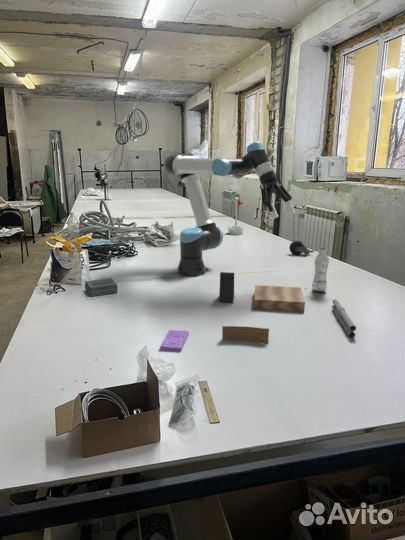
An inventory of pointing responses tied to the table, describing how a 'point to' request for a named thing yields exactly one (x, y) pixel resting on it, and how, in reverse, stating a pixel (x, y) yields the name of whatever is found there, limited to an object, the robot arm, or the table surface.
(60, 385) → the table surface
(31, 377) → the table surface
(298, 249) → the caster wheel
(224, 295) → the phone stand
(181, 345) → the sponges
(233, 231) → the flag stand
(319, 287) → the plastic bottle
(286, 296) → the wooden board
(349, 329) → the metal rod assembly
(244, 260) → the table surface
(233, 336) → the wood plank
